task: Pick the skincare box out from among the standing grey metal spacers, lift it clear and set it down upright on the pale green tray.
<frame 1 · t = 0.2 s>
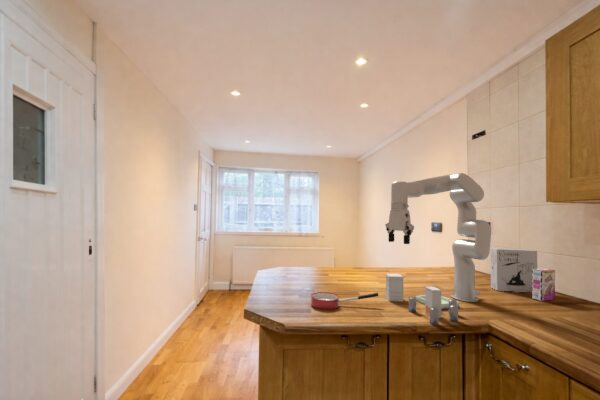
hand: (398, 242, 132), 31 cm above the worktop, tool pointing down, fingers open, 9 cm apart
skincare box: (433, 316, 121), on the worktop
frying pan: (344, 305, 132), on the worktop
candy bar box: (543, 300, 149), on the worktop
tray: (436, 303, 137), on the worktop
supplement box: (394, 299, 143), on the worktop
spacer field: (433, 315, 121), on the worktop
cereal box: (513, 291, 166), on the worktop
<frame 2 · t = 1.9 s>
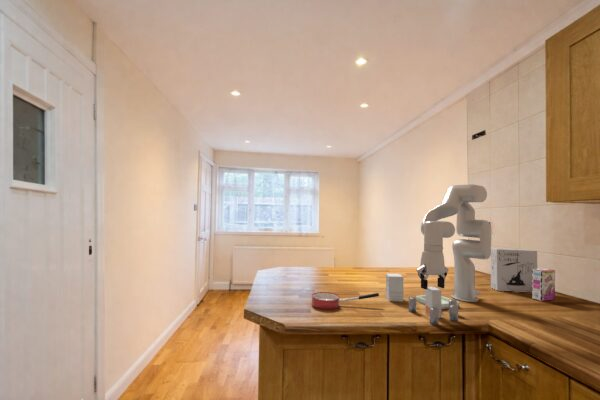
hand: (432, 288, 121), 12 cm above the worktop, tool pointing down, fingers open, 9 cm apart
nothing on the worktop moved.
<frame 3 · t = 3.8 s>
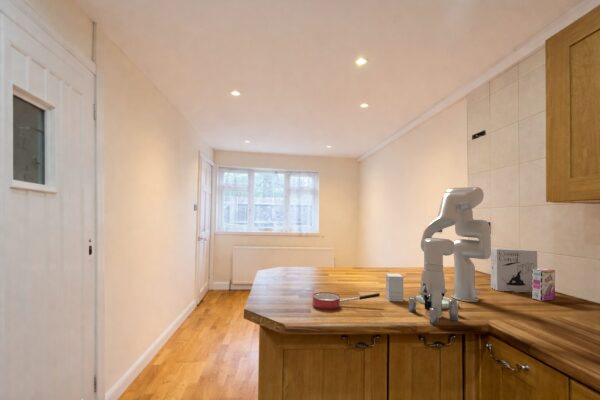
hand: (433, 308, 121), 3 cm above the worktop, tool pointing down, fingers closed on skincare box, 5 cm apart
skincare box: (433, 316, 121), on the worktop, touching gripper
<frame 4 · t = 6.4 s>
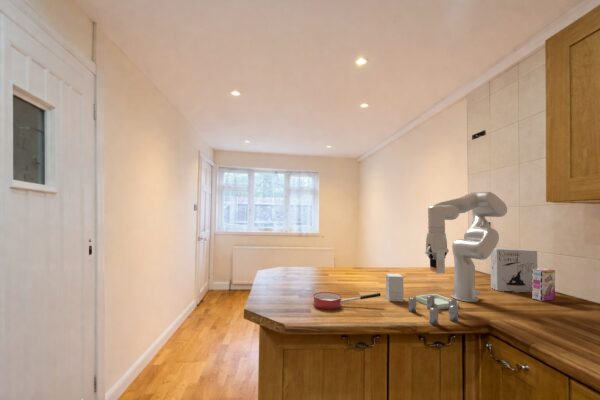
hand: (437, 266, 138), 19 cm above the worktop, tool pointing down, fingers closed on skincare box, 5 cm apart
skincare box: (437, 272, 138), point 16 cm above the worktop, touching gripper
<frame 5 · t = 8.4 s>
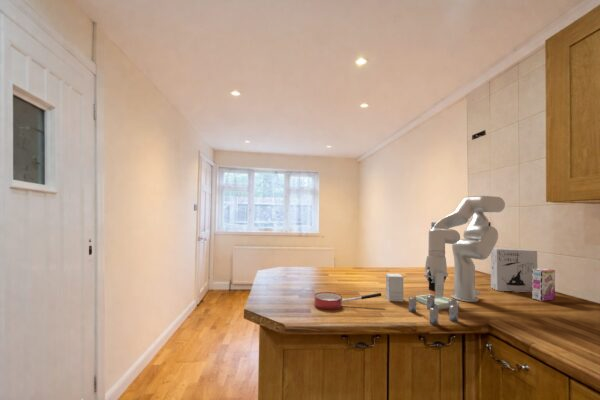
hand: (436, 289, 138), 7 cm above the worktop, tool pointing down, fingers closed on skincare box, 5 cm apart
skincare box: (435, 296, 138), point 4 cm above the worktop, touching gripper
when the fingers open (5 cm above the worktop, at t = 9.5 s): skincare box drops 1 cm, resting on tray.
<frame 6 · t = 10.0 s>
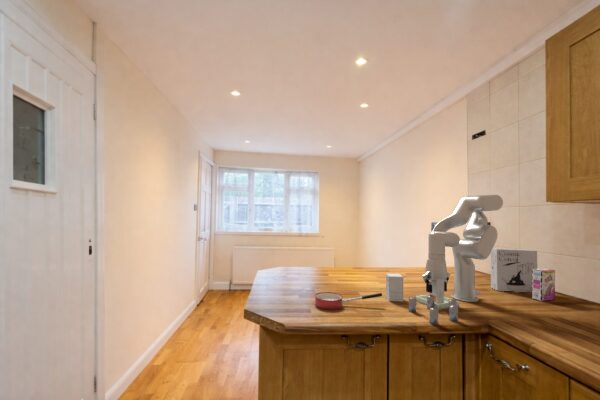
hand: (436, 291, 138), 6 cm above the worktop, tool pointing down, fingers open, 9 cm apart
skincare box: (436, 302, 138), point 1 cm above the worktop, touching tray
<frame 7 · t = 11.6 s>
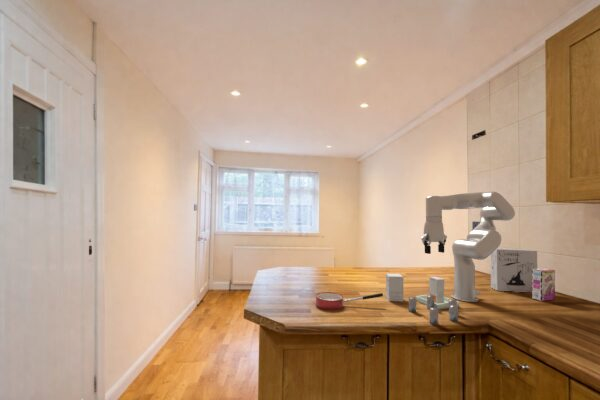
hand: (434, 252, 142), 25 cm above the worktop, tool pointing down, fingers open, 9 cm apart
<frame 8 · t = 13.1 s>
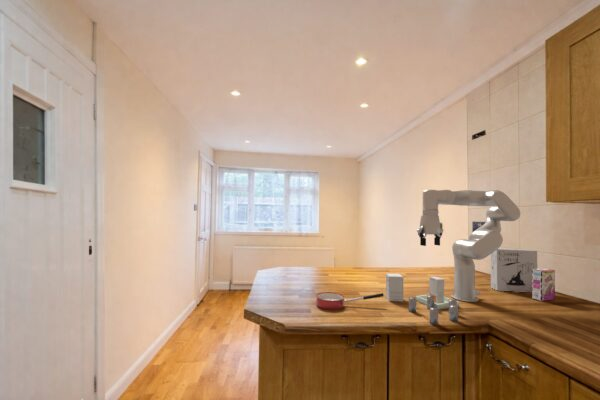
hand: (430, 245, 145), 28 cm above the worktop, tool pointing down, fingers open, 9 cm apart
at the end: skincare box inside the target area on the tray (0.2 cm from its centre), point 0.6 cm above the tray's base; skincare box tilted 0°; the gripper is holding nothing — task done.
